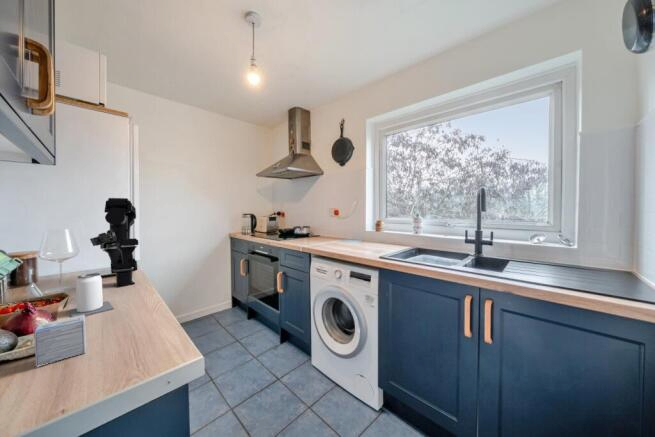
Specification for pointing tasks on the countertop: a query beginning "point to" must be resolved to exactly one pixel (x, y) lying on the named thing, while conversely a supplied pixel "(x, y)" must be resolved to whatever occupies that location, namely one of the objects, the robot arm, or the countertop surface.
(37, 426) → the countertop surface
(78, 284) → the can
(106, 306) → the mat
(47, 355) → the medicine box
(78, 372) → the countertop surface
